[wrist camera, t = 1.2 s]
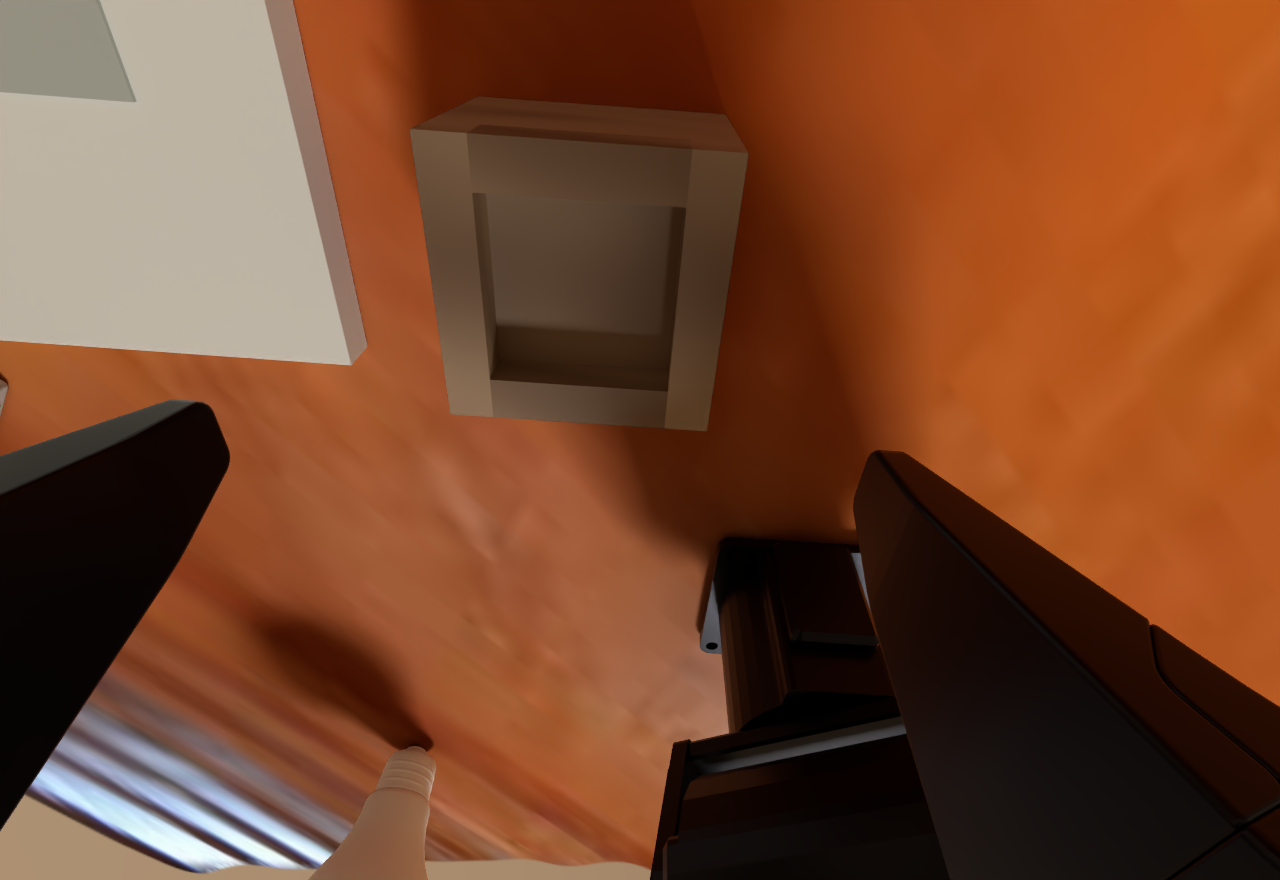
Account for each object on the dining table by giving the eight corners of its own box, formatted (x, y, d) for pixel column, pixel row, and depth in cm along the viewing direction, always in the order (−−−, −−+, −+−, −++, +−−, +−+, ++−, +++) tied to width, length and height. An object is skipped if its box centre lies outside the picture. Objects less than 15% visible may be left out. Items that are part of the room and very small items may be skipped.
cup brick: (697, 337, 18) (707, 431, 14) (498, 323, 18) (450, 414, 14) (725, 113, 15) (748, 153, 11) (479, 95, 15) (409, 128, 11)
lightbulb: (396, 702, 30) (283, 998, 21) (497, 749, 32) (434, 1034, 23) (338, 747, 33) (215, 1026, 24) (435, 787, 35) (357, 1056, 26)
